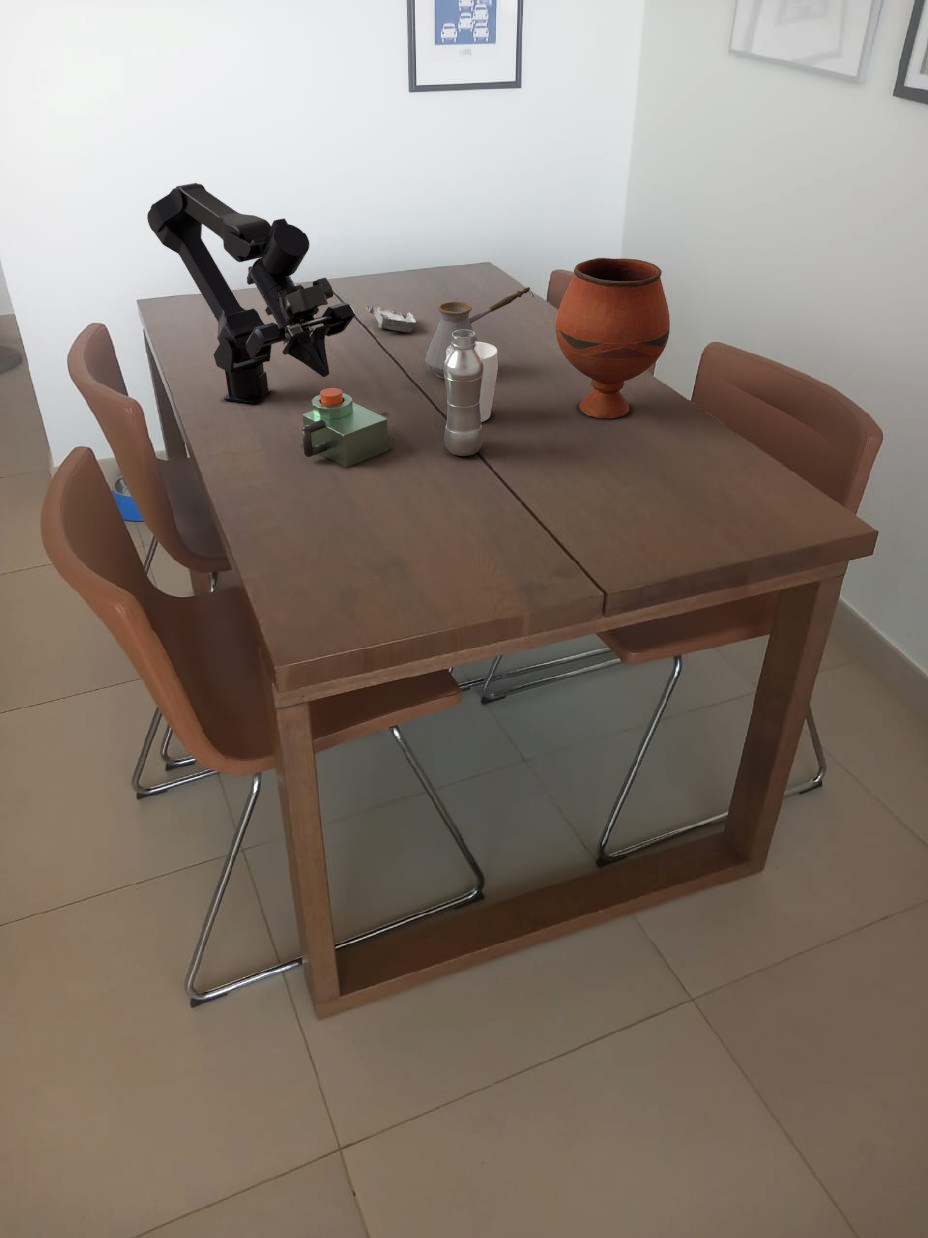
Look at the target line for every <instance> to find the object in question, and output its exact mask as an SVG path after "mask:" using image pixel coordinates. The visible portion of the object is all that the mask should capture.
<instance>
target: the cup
mask: <svg viewBox="0 0 928 1238" xmlns="http://www.w3.org/2000/svg"><path fill="white" fill-rule="evenodd" d="M452 349H453V347H452V346H451V345H450V346H449V347H448V348H447V350H446V358H447V356H448V355H449V353H450V352H451V351H452ZM474 349H475V350H476V352H477V353H478V354H479V356H480V358H481V359H482V362H483V366H484V368H483V377H482V383H481V392H480V416H481V423H483V422H486V421H487V420H489V418H491V413H492V407H493V401H494V396H495V389H496V383H497V378H498V377H497V376H498V370H499V361H498V360H499V359H498V348H497V347H496V346H494V345H493V344H491V343H489V342H483V341H478V342H477V341H476V346H475V347H474Z"/></svg>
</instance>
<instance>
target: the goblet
mask: <svg viewBox="0 0 928 1238" xmlns="http://www.w3.org/2000/svg"><path fill="white" fill-rule="evenodd" d="M662 272H663V271H662V269H661V268H660V267H659V266H658V265H656V264H655V263H652V262H649V261H647V260H641V259H635V258H610V257H596V258H592V259H587V260H585V261H582V262H580V263H578V264H576V265H575V267H574V269H573V276H572V277H571V280H570V283H569V285H568V287H567V289H566V290H565V293H564V294H563V297H562V298H561V299H562V300H561V302H560V305H559V307H558V310H557V313H556V320H555V335H556V340H557V343H558V346H559V349H560V351H561V353H562V355H563V356H564V358H565V359H566V360H567V361H568V362H569V363H570V364H571V365H572V366H573V367H574V368H575V369H576V370H577V371H578V372H579V373H581V374H582V375H584V376H586V377H587V378H589V379H591V382H590V385H591V386H592V387H593V389H592V390H591V391H590V392H589V393H588V394H586V396H584V397H583V398H582V399H581V401H580V403H579V410H580V411H581V412H582V413H583V414H584V415H586V416H588V417H592V418H597V419H617V418H621V417H624V416H625V415H627V414H628V413H629V412H630V407H629V404H628V401H627V400H626V398H625V397H624V396H623V394H622V393H621V392H620V390H622V389H623V388H624V385H625V382H628V381H629V380H632V379H634V378H636V377H638V376H639V375H641V374H643V373H645V372H646V371H647V370H648V369H649V368H651V367H652V366H653V365H654V364H655V363H656V362H657V361H658V360H659V358H660V357H661V356H662V354H663V352H664V351H665V349H666V347H667V344H668V341H669V338H670V328H671V327H670V326H671V323H670V322H671V321H670V320H671V319H670V310H669V304H668V301H667V296H666V294H665V289H664V285H663V282H662V278H661V277H662Z"/></svg>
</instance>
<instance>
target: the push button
mask: <svg viewBox="0 0 928 1238" xmlns="http://www.w3.org/2000/svg"><path fill="white" fill-rule="evenodd" d="M342 393H343V390H342V389H341V388H337V387H327V388H323V389H321V391H320V392H319V395H320V397H321V404H323V405H327V406H333V405H339V404H342V403H343V395H342Z"/></svg>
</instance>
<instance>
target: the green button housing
mask: <svg viewBox="0 0 928 1238" xmlns="http://www.w3.org/2000/svg"><path fill="white" fill-rule="evenodd" d="M342 395H343V403H342V404H339V405H333V406H327V405H323V404H321V397H320V394H318V395H315V396H314V397H313V398H312V399H311V411H308V412H305V413H302V423H303V426H305V425H308V424H310V423H313V422H316V421H319V420H324V421H325V423H326V425H325V427H324V428H323V429H320V430H317V431H315V432H312V433H311V438H312V446H315V445H318V444H320V443H325V444H326V446H327V450H326V451H324V452H321V453H319V454H321V455H322V456H324V457H326V458H328V459H330V460H331V461H333V462H335V463H337V464H339V465H340V466H342V467H344V468H348V467H351V466H353V465H356V464H358V463H360V462H363V461H366V460H368V459H371V458H373V457H376V456H378V455H380V454H383V453H385V452H388V451H390V447H389V429H388V428H389V426H388V424H389V423H388V418H387V417H384V416H383V415H380V414H378V413H376V412H374V411H371V410H370V409H368V408H365V407H364V406H361V405H360V404H357V403H355V402H354V401H353V399H352V395H351V396H350V395H348V394H347V393H343V392H342Z"/></svg>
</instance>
